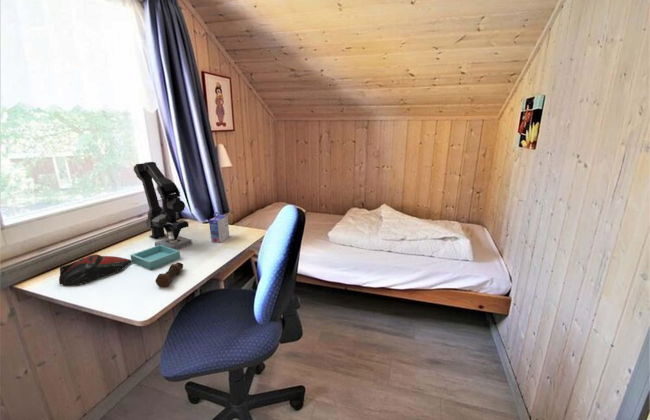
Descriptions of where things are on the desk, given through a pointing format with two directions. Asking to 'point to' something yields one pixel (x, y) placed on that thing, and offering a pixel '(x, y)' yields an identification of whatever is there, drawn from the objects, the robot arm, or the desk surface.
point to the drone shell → (91, 269)
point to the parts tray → (155, 257)
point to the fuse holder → (179, 244)
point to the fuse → (171, 237)
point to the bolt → (169, 275)
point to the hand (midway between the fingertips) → (173, 238)
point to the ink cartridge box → (219, 228)
